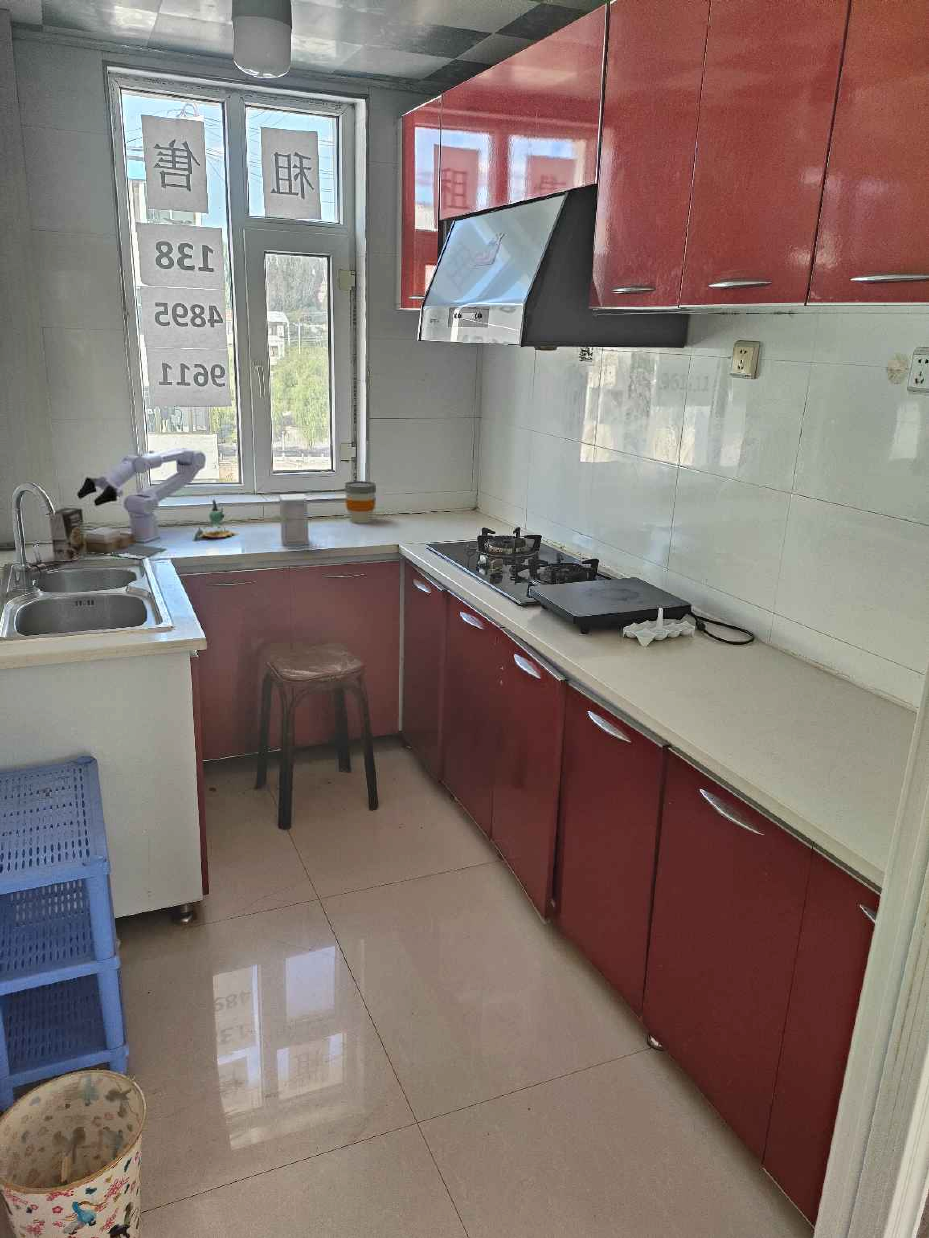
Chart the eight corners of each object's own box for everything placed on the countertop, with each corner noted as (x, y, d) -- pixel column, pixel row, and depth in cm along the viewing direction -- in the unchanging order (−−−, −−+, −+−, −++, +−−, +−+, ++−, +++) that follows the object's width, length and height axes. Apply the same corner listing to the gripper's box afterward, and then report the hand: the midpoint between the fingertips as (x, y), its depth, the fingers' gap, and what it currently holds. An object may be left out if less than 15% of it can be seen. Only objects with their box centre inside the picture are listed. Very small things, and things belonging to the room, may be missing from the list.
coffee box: (71, 562, 289) (65, 514, 284) (53, 561, 290) (47, 512, 285) (87, 555, 297) (82, 508, 292) (70, 553, 298) (65, 506, 293)
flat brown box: (106, 541, 315) (105, 530, 313) (134, 545, 311) (133, 534, 310) (78, 550, 302) (77, 539, 301) (107, 555, 298) (106, 543, 297)
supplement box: (306, 538, 329) (305, 493, 323) (309, 544, 320) (308, 498, 315) (280, 539, 326) (278, 494, 320) (282, 545, 318) (280, 499, 312)
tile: (101, 532, 310) (101, 527, 310) (120, 535, 308) (120, 529, 307) (85, 537, 303) (85, 532, 302) (105, 540, 301) (104, 534, 300)
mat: (135, 545, 311) (135, 544, 311) (166, 550, 307) (166, 548, 307) (108, 555, 298) (108, 554, 298) (140, 560, 295) (140, 558, 294)
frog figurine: (185, 536, 326) (187, 496, 322) (233, 536, 336) (235, 498, 332) (193, 542, 318) (195, 501, 314) (242, 542, 328) (244, 502, 324)
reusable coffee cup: (343, 517, 362) (342, 481, 357) (373, 517, 365) (373, 480, 360) (346, 524, 351) (346, 487, 346) (378, 524, 353) (378, 486, 348)
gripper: (97, 462, 304) (67, 483, 296) (129, 475, 299) (99, 497, 291) (103, 478, 309) (73, 500, 301) (134, 491, 304) (105, 514, 296)
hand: (86, 499), depth 296 cm, fingers open, 7 cm apart
